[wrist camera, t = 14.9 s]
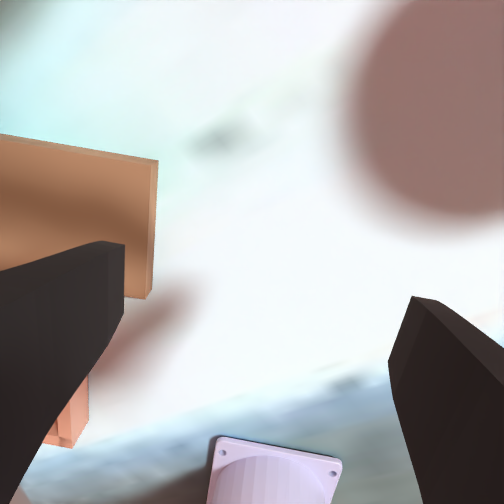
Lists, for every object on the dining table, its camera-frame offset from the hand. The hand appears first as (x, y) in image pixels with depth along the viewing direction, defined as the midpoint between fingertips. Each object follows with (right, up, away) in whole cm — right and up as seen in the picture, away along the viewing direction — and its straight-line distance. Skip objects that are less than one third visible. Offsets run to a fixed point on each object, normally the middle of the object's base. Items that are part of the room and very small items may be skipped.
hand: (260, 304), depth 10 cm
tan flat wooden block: (-9, +3, +11) cm, 15 cm away
